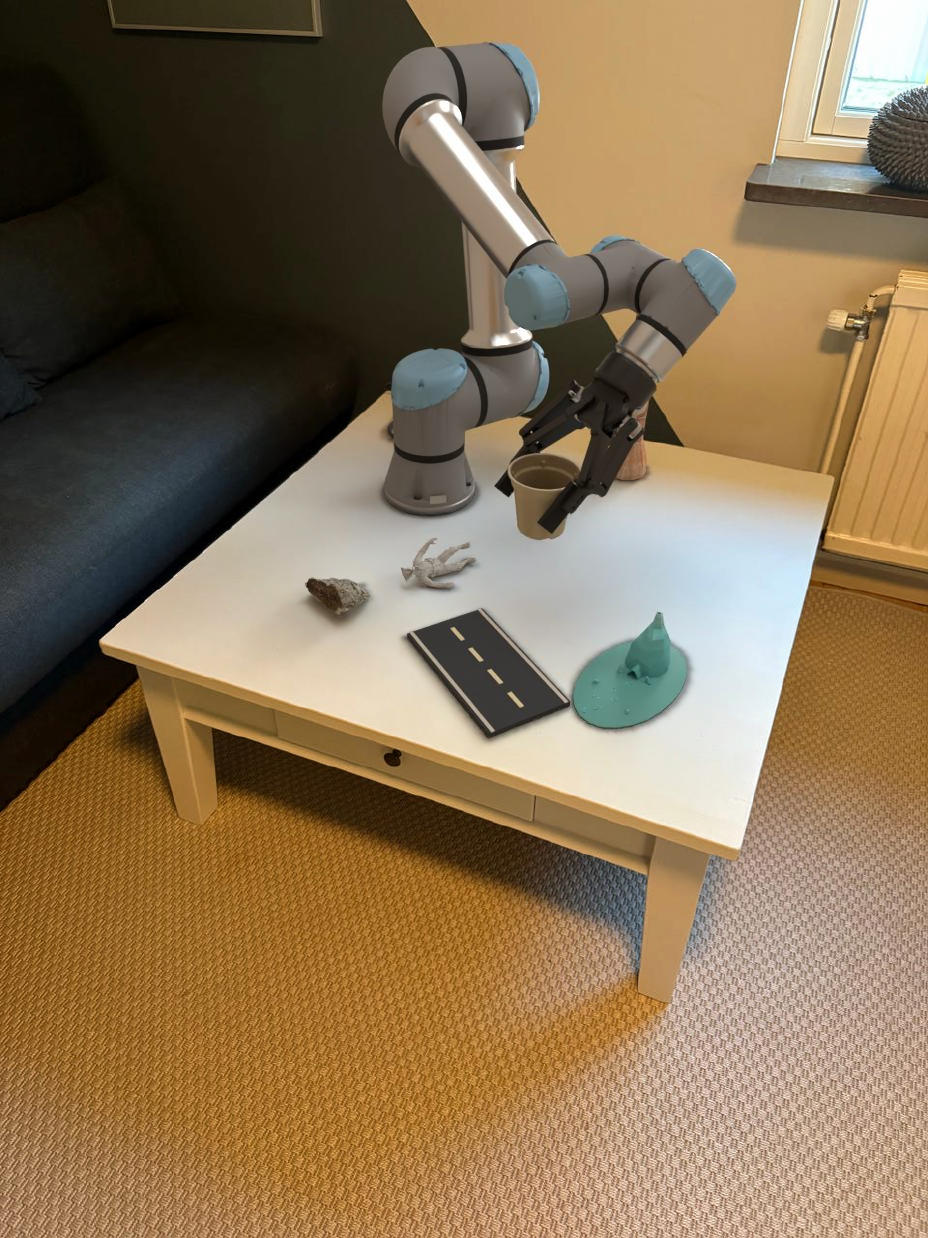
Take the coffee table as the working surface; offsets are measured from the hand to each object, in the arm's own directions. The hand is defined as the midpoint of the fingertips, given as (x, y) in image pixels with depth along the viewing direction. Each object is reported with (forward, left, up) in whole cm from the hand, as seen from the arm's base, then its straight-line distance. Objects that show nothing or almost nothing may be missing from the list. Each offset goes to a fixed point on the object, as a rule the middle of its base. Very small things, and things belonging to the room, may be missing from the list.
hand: (522, 509), depth 121 cm
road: (+6, -9, -19) cm, 22 cm away
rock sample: (-17, -20, -19) cm, 32 cm away
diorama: (+17, +7, -19) cm, 27 cm away
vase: (-29, +41, -19) cm, 54 cm away
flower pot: (0, +3, -4) cm, 5 cm away
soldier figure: (-16, -4, -19) cm, 25 cm away
